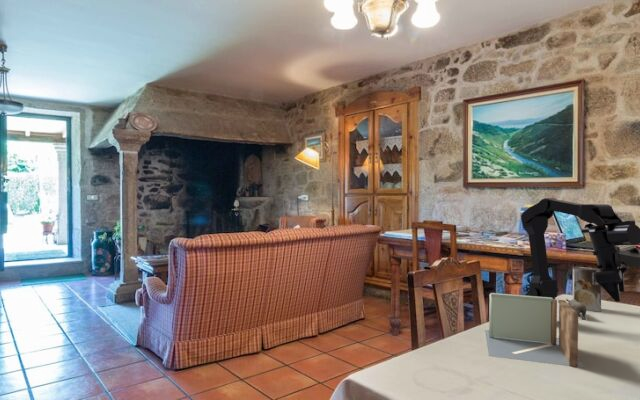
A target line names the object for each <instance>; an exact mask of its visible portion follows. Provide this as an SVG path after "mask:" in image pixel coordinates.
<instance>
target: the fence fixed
mask: <svg viewBox="0 0 640 400" xmlns="http://www.w3.org/2000/svg"><path fill="white" fill-rule="evenodd" d="M568 303H569V302H568V301H566V300H564V299H558V300H557V304H559V305H558V309H559V310H558V338H559V347H560V349H561V351H562V352H563V354H564V355H565V357H566V359H567V360H568V362H569V365H570V366H569V367H572V368H579V367H578V360H579V358H578V357H579V356H578V355H579V349H578V348H579V316H578V312H576V311H575V310H574V309H573V308H572V307H571V306H570V305H569V304H568Z"/></svg>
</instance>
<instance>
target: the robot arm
mask: <svg viewBox="0 0 640 400" xmlns="http://www.w3.org/2000/svg"><path fill="white" fill-rule="evenodd" d="M555 212H557V213H562V214H566V215H572V216H575V217H578V219H579V220H581V221H583V222H586V224H585V225H584V227H583V228H582V229H581V233H583V234H586V233H588V236H589V238H590V239H589V240H590V242H591V245H592V248H593V252H592V254H593V256H595V258H596V261H597V264H596V268H598V270H597V271H596V273H595V274H594V279H595V282H597V283H598V284H600V285H601V288H603V290H604V291H605V292H606V293H607V294H608V295H609V296H610V297H611V298H612V299H613V300H614V301H615V302H617V303H618V302H621V296H620V294H621V293H625V276H624V275H625V273H626V271H627V270H628V268H629V267H634V268H638V269H640V249H639V248H638V247H631V249H629V251H628V250H626V251H625V250H621V249H620V246H638V245H640V227H639V226H638V225H636V221H635V220H624V221H623V220H622V219H621V218H620V217H619V215H617V214H616V212H615V210H614V209H613V207H612V205H610V204H605V203H603V204H601V203H600V204H599V203H598V204H597V203H596V204H595V203H594V204H593V203H591V204H589V203H587V204H585V203H579V202H573V201H567V200H562V199H557V198H556V197H554V198H553V197H545V198H542V199H541V200H540V201H539V202H537V203H536V204H533V205H532V206H531V205H530V207H528V208H527V209H526V210H524V211H523V212H522V213H521V216H520V219H521V220H520V221H521V224H522V228H523V230H524V231H525V233H526V234H527V235H528V240H529V252H530V257H531V266H532V267H531V268H532V277H531V280H530V282H529V290H528V291H527V292H526V293H524V295H525V296H538V297H550V298H553V299H557V297H558V293H559V292H560V291H559V289H558V281H557V279H553V278H552V277H551V275H550V272H549V263H548V255H547V248H546V247H547V246H546V239H545V237H546V236H545V233H546V231H547V229H548V226H549V220H550V219H551V218H552V217H553V216H554V214H555Z"/></svg>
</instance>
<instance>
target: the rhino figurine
mask: <svg viewBox="0 0 640 400" xmlns="http://www.w3.org/2000/svg"><path fill="white" fill-rule="evenodd" d="M565 301H566V302H567V303H568V304H569V305H570V306H571V307H572V308H573V309H574V310H575V311H576V312H578V317H581V316H582V318H581V320H582V321H587V318H586V317H587V316H586V314H587V310H586V307H585V305H583V304H581V303H580V302H578V301H576V300H575V299H573V298H572V299H571V300H569V299H568V298H566V300H565Z"/></svg>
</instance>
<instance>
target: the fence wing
mask: <svg viewBox="0 0 640 400" xmlns="http://www.w3.org/2000/svg"><path fill="white" fill-rule="evenodd" d="M488 306H489V307H488V309H489V315H488V316H489V318H488V322H489V323H488V324H489V325H488V326H489V327H488V328H489V337H491V338H494V337H500V338H509V339H518V340H527V341H536V342H545V343H551V344H556V342H557V338H558V337H557V331H558V329H557V326H558V325H557V322H558V321H557V320H558V319H557V316H558V315H557V314H558V300H557V298H555V299H553V298H550V297H538V296H525V294H524V295H523V294H522V295H521V294H509V293H497V292H490V293H489V305H488Z"/></svg>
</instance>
